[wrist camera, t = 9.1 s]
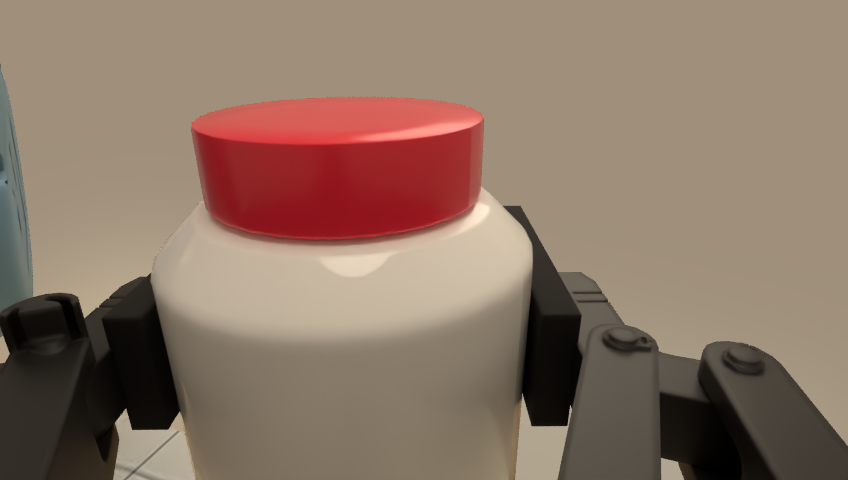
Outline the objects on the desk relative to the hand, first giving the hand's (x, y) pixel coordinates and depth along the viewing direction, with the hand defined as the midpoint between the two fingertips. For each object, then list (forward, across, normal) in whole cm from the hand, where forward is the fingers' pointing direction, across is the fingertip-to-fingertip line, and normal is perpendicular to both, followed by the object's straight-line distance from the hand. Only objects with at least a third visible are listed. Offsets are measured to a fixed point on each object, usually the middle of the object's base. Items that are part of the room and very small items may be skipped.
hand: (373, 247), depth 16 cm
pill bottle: (-5, 0, -6) cm, 8 cm away
